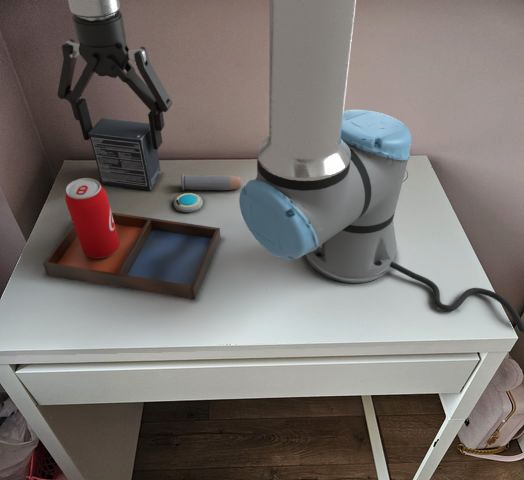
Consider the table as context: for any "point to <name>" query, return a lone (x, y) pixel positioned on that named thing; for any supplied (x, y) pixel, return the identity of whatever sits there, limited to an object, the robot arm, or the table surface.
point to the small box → (125, 153)
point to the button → (188, 202)
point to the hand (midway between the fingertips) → (123, 141)
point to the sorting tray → (142, 257)
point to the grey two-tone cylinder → (210, 182)
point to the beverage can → (92, 217)
